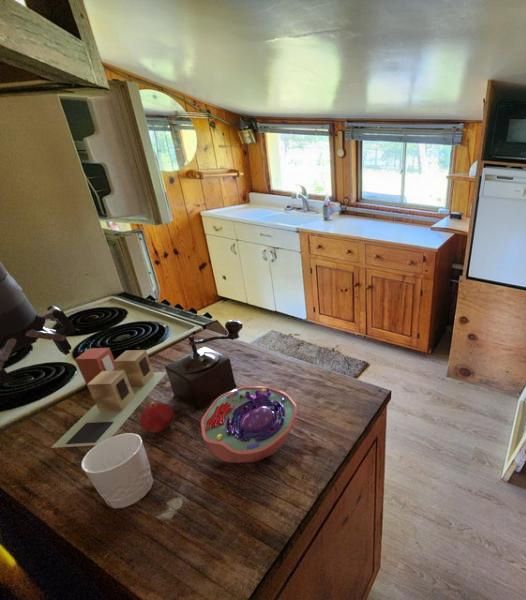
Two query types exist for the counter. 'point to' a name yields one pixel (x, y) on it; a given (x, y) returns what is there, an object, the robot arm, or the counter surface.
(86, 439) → the word mat
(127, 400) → the maple letter middle
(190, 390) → the manual coffee grinder
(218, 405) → the cell model
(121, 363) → the maple letter far
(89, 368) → the letter block
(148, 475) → the white cup
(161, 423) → the red rounded lump
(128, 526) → the counter surface
